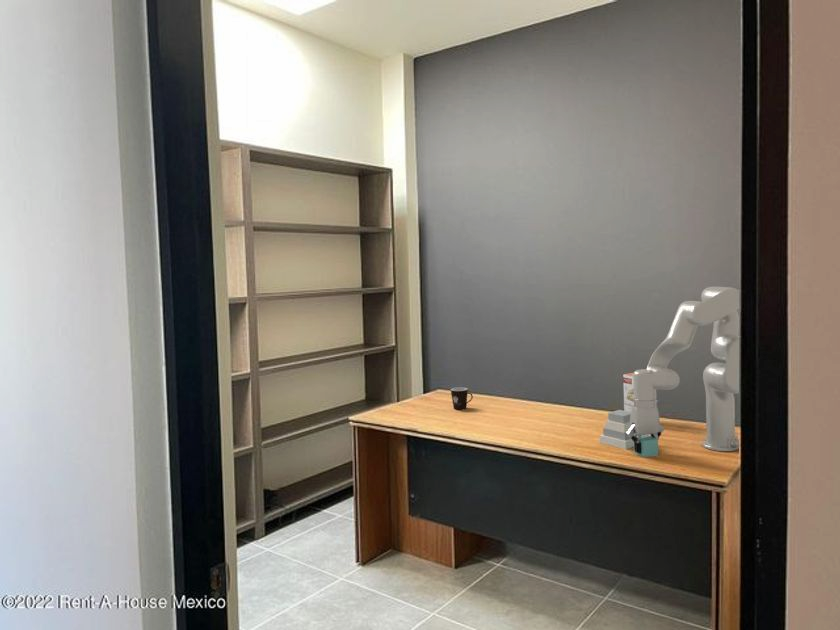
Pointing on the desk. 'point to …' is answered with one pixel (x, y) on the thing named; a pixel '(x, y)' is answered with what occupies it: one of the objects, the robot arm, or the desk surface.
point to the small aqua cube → (648, 446)
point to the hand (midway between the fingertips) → (645, 450)
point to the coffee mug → (460, 398)
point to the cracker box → (629, 392)
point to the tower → (617, 430)
